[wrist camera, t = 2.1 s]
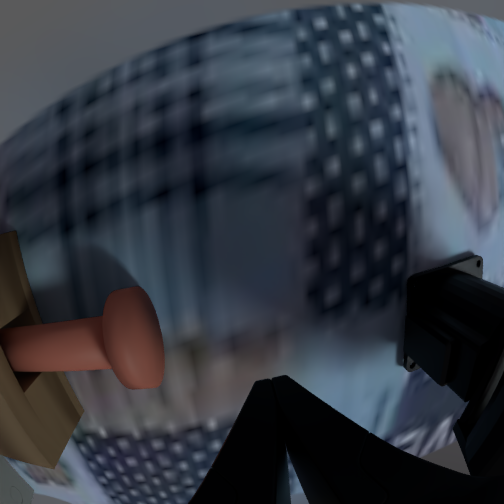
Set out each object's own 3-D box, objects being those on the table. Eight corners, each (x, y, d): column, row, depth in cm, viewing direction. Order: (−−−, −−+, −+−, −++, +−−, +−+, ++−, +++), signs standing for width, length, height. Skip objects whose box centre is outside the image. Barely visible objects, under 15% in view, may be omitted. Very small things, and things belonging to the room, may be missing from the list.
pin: (145, 274, 13) (114, 308, 9) (169, 354, 14) (154, 408, 10) (10, 300, 13) (-35, 328, 9) (36, 365, 14) (2, 403, 9)
